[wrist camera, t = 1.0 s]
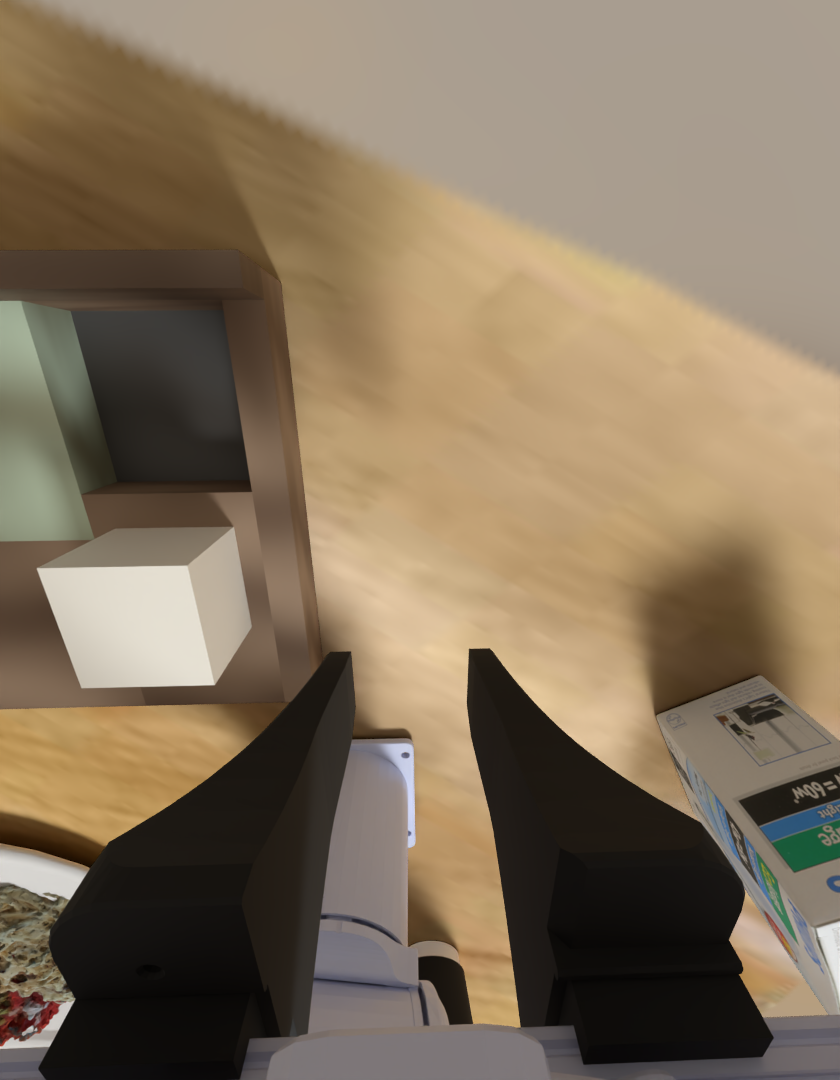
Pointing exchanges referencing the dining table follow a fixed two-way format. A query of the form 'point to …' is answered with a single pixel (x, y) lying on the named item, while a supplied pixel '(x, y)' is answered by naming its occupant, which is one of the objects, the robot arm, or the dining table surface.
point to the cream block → (150, 606)
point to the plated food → (32, 945)
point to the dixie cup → (445, 978)
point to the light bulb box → (770, 813)
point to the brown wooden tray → (149, 452)
